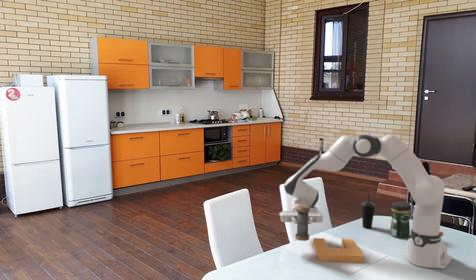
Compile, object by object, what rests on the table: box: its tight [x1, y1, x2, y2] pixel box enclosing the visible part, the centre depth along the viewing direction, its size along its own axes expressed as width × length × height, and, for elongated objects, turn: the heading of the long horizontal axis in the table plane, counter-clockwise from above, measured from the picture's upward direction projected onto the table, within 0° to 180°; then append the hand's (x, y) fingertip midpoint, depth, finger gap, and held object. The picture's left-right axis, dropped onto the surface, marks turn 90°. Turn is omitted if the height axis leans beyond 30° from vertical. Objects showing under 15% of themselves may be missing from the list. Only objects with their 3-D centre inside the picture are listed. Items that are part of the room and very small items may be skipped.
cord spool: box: [295, 205, 310, 242], centre depth 181 cm, size 6×6×15 cm
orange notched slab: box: [312, 237, 365, 263], centre depth 186 cm, size 20×20×3 cm
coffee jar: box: [389, 201, 412, 239], centre depth 208 cm, size 10×8×19 cm
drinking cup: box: [360, 192, 376, 230], centre depth 220 cm, size 8×8×20 cm
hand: (303, 222), depth 180 cm, fingers closed on cord spool, 5 cm apart
